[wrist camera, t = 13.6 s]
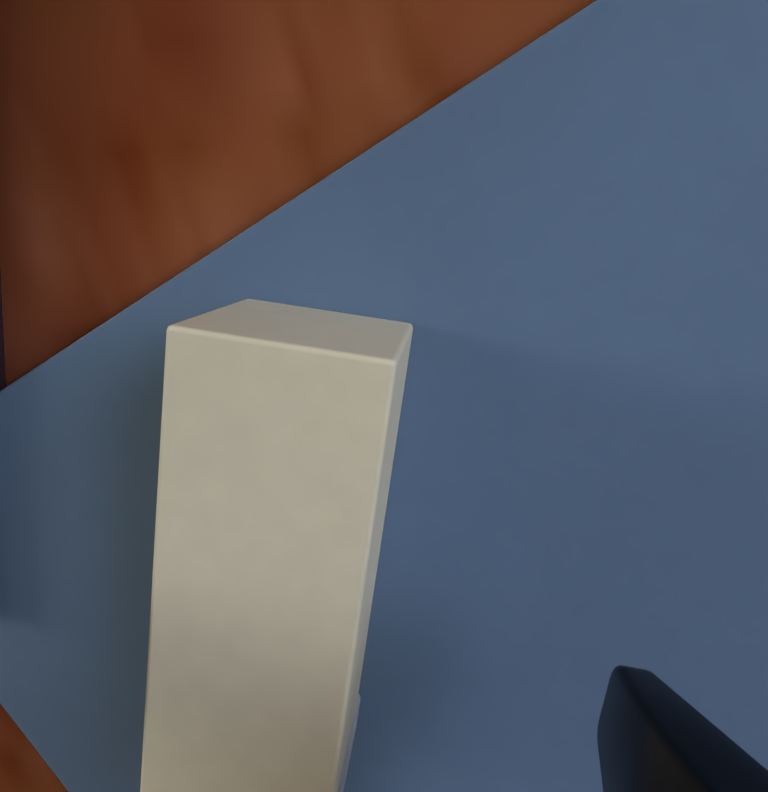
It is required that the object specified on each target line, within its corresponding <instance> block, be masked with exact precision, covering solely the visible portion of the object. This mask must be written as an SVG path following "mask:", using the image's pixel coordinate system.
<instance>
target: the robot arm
mask: <svg viewBox="0 0 768 792" xmlns="http://www.w3.org/2000/svg"><path fill="white" fill-rule="evenodd" d="M597 743H598V752H599V760H600V769H601V777H602V786H603V792H768V770H767V769H766V768H764V767H763V766H762V765H761V764H760V763H759V762H757V761H756V760H755V759H754V758H753V757H751V756H750V755H749V754H748V753H747V752H746V751H744V750H743V749H742V748H741V747H740V746H739V745H737V744H736V743H735V742H734V741H733V740H731V739H730V738H729V737H728V736H727V735H726V734H724V733H723V732H722V731H721V730H720V729H718V728H717V727H716V726H715V725H714V724H713V723H711V722H710V721H709V720H708V719H707V718H705V717H704V716H703V715H702V714H701V713H700V712H698V711H697V710H696V709H695V708H694V707H692V706H691V705H690V704H689V703H688V702H687V701H685V700H684V699H683V698H682V697H681V696H680V695H678V694H677V693H676V692H675V691H674V690H672V689H671V688H670V687H669V686H668V685H667V684H665V683H664V682H663V681H662V680H661V679H659V678H658V677H657V676H656V675H655V674H654V673H652V672H651V671H648V670H645V669H640V668H634V667H629V666H623V665H618V666H616V667H615V668H614V669H613V671H612V673H611V675H610V679H609V683H608V686H607V690H606V694H605V698H604V702H603V706H602V710H601V713H600V717H599V722H598V729H597Z"/></svg>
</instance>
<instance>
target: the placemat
mask: <svg viewBox="0 0 768 792" xmlns="http://www.w3.org/2000/svg"><path fill="white" fill-rule="evenodd" d="M245 299H255V300H262V301H268V302H275V303H281V304H288V305H294V306H301V307H307V308H314V309H321V310H327V311H334V312H340V313H347V314H353V315H360V316H367V317H373V318H380V319H386V320H393V321H399V322H406V323H410V324H412V326H413V333H412V339H411V346H410V353H409V359H408V366H407V373H406V379H405V386H404V393H403V399H402V406H401V413H400V419H399V426H398V433H397V439H396V446H395V453H394V459H393V466H392V473H391V479H390V486H389V493H388V500H387V506H386V513H385V520H384V526H383V533H382V540H381V546H380V553H379V560H378V566H377V573H376V580H375V586H374V593H373V600H372V606H371V613H370V620H369V626H368V633H367V640H366V646H365V653H364V660H363V667H362V673H361V680H360V687H359V692H358V694H360V698H361V699H360V706H359V713H358V719H357V726H356V731H355V736H354V740H353V745H352V750H351V755H350V760H349V765H348V770H347V775H346V780H345V785H344V790H343V792H603V786H602V777H601V769H600V760H599V752H598V743H597V729H598V722H599V717H600V713H601V710H602V706H603V702H604V698H605V694H606V690H607V686H608V683H609V679H610V675H611V673H612V671H613V669H614V668H615V667H616V666H618V665H623V666H629V667H634V668H640V669H645V670H648V671H651V672H652V673H654V674H655V675H656V676H657V677H658V678H659V679H661V680H662V681H663V682H664V683H665V684H667V685H668V686H669V687H670V688H671V689H672V690H674V691H675V692H676V693H677V694H678V695H680V696H681V697H682V698H683V699H684V700H685V701H687V702H688V703H689V704H690V705H691V706H692V707H694V708H695V709H696V710H697V711H698V712H700V713H701V714H702V715H703V716H704V717H705V718H707V719H708V720H709V721H710V722H711V723H713V724H714V725H715V726H716V727H717V728H718V729H720V730H721V731H722V732H723V733H724V734H726V735H727V736H728V737H729V738H730V739H731V740H733V741H734V742H735V743H736V744H737V745H739V746H740V747H741V748H742V749H743V750H744V751H746V752H747V753H748V754H749V755H750V756H751V757H753V758H754V759H755V760H756V761H757V762H759V763H760V764H761V765H762V766H763V767H764V768H766V769H767V770H768V0H596V1H594V2H593V3H591V4H590V5H588V6H587V7H585V8H584V9H582V10H581V11H579V12H577V13H576V14H574V15H573V16H571V17H570V18H568V19H567V20H565V21H564V22H562V23H561V24H559V25H558V26H556V27H555V28H553V29H552V30H550V31H548V32H547V33H545V34H544V35H542V36H541V37H539V38H538V39H536V40H535V41H533V42H532V43H530V44H529V45H527V46H526V47H524V48H523V49H521V50H520V51H518V52H516V53H515V54H513V55H512V56H510V57H509V58H507V59H506V60H504V61H503V62H501V63H500V64H498V65H497V66H495V67H494V68H492V69H491V70H489V71H487V72H486V73H484V74H483V75H481V76H480V77H478V78H477V79H475V80H474V81H472V82H471V83H469V84H468V85H466V86H465V87H463V88H462V89H460V90H458V91H457V92H455V93H454V94H452V95H451V96H449V97H448V98H446V99H445V100H443V101H442V102H440V103H439V104H437V105H436V106H434V107H433V108H431V109H430V110H428V111H426V112H425V113H423V114H422V115H420V116H419V117H417V118H416V119H414V120H413V121H411V122H410V123H408V124H407V125H405V126H404V127H402V128H401V129H399V130H397V131H396V132H394V133H393V134H391V135H390V136H388V137H387V138H385V139H384V140H382V141H381V142H379V143H378V144H376V145H375V146H373V147H372V148H370V149H368V150H367V151H365V152H364V153H362V154H361V155H359V156H358V157H356V158H355V159H353V160H352V161H350V162H349V163H347V164H346V165H344V166H343V167H341V168H340V169H338V170H336V171H335V172H333V173H332V174H330V175H329V176H327V177H326V178H324V179H323V180H321V181H320V182H318V183H317V184H315V185H314V186H312V187H311V188H309V189H307V190H306V191H304V192H303V193H301V194H300V195H298V196H297V197H295V198H294V199H292V200H291V201H289V202H288V203H286V204H285V205H283V206H282V207H280V208H278V209H277V210H275V211H274V212H272V213H271V214H269V215H268V216H266V217H265V218H263V219H262V220H260V221H259V222H257V223H256V224H254V225H253V226H251V227H250V228H248V229H246V230H245V231H243V232H242V233H240V234H239V235H237V236H236V237H234V238H233V239H231V240H230V241H228V242H227V243H225V244H224V245H222V246H221V247H219V248H217V249H216V250H214V251H213V252H211V253H210V254H208V255H207V256H205V257H204V258H202V259H201V260H199V261H198V262H196V263H195V264H193V265H192V266H190V267H188V268H187V269H185V270H184V271H182V272H181V273H179V274H178V275H176V276H175V277H173V278H172V279H170V280H169V281H167V282H166V283H164V284H163V285H161V286H160V287H158V288H156V289H155V290H153V291H152V292H150V293H149V294H147V295H146V296H144V297H143V298H141V299H140V300H138V301H137V302H135V303H134V304H132V305H131V306H129V307H127V308H126V309H124V310H123V311H121V312H120V313H118V314H117V315H115V316H114V317H112V318H111V319H109V320H108V321H106V322H105V323H103V324H102V325H100V326H98V327H97V328H95V329H94V330H92V331H91V332H89V333H88V334H86V335H85V336H83V337H82V338H80V339H79V340H77V341H76V342H74V343H73V344H71V345H70V346H68V347H66V348H65V349H63V350H62V351H60V352H59V353H57V354H56V355H54V356H53V357H51V358H50V359H48V360H47V361H45V362H44V363H42V364H41V365H39V366H37V367H36V368H34V369H33V370H31V371H30V372H28V373H27V374H25V375H24V376H22V377H21V378H19V379H18V380H16V381H15V382H13V383H12V384H10V385H8V386H7V387H5V388H4V389H2V390H1V391H0V704H1V705H2V707H3V708H4V709H5V710H6V712H7V713H8V714H9V716H10V717H11V718H12V719H13V721H14V722H15V723H16V725H17V726H18V727H19V728H20V730H21V731H22V732H23V734H24V735H25V736H26V737H27V739H28V740H29V741H30V743H31V744H32V745H33V747H34V748H35V749H36V750H37V752H38V753H39V754H40V756H41V757H42V758H43V759H44V761H45V762H46V763H47V765H48V766H49V767H50V768H51V770H52V771H53V772H54V774H55V775H56V776H57V778H58V779H59V780H60V781H61V783H62V784H63V785H64V787H65V788H66V789H67V790H68V792H140V786H141V768H142V751H143V733H144V716H145V698H146V681H147V663H148V646H149V629H150V611H151V594H152V576H153V559H154V541H155V524H156V506H157V489H158V472H159V454H160V437H161V419H162V402H163V384H164V367H165V349H166V332H167V328H168V326H169V325H172V324H175V323H178V322H181V321H184V320H187V319H190V318H193V317H196V316H199V315H201V314H204V313H207V312H210V311H213V310H216V309H219V308H222V307H225V306H228V305H231V304H234V303H237V302H240V301H242V300H245Z"/></svg>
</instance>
